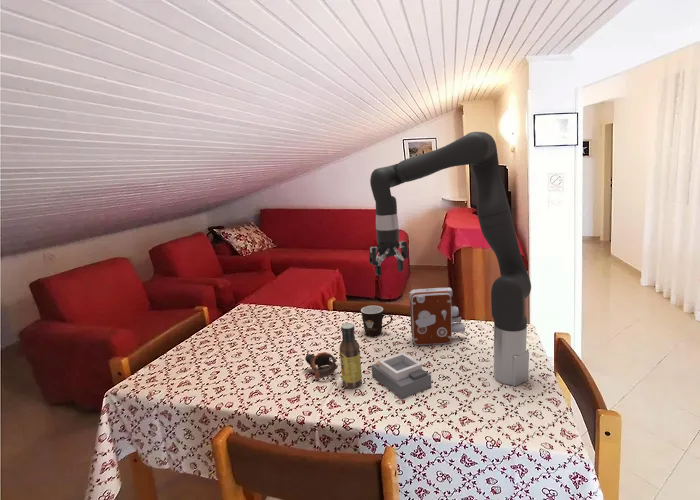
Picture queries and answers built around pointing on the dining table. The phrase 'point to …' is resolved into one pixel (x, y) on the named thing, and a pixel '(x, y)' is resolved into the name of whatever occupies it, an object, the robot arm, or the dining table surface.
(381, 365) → the retro computer monitor
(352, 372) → the sauce bottle
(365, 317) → the coffee mug
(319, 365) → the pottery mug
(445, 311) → the cine camera
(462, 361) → the dining table surface
